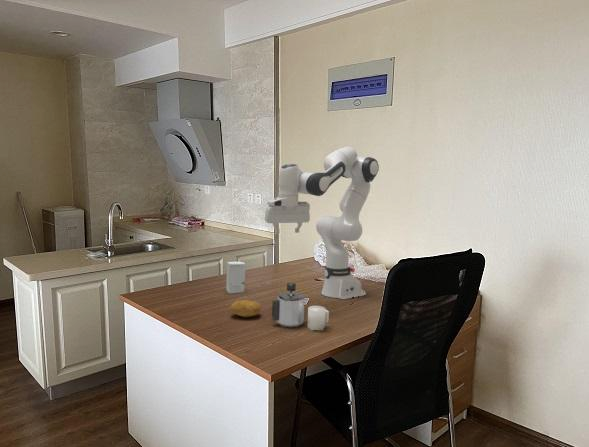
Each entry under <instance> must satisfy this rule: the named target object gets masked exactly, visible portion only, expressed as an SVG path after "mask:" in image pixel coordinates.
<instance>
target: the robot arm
mask: <svg viewBox="0 0 589 447" xmlns="http://www.w3.org/2000/svg"><path fill="white" fill-rule="evenodd" d="M323 168H324V172H307V171H306V172H305V171H304V170H302V169H301V168H300V167H299V166H298V164H296V163H295V164H294V163H290V164H284V165H282V166H280V169H279V173H278V188H279V189H278V196H277V197H274V198H270V199H269V200H267V207H266V208H265V213H264V221H265V223H267V224H272V227H273V228H274V233H275V234H280V228H278V227H277V226H278V224H292V223H296V224H297V226H296V228H295V227H294V233H300V229H301V228H302V226H303V223H309V222H310V216H311V215H310V210H311V208H310V207H311V204H310V203H309V202H307V201H299V194H303V195H312V196H316V197H322V196H323V195H324V194H325V193H326V192H328V189H329V188H330V187H331V186H332V185H333V184H334V183H335V182H336V181H338V180H339V179H341V177H343V178H345V179H351V183H350V184H349V186H348V187H347V189H346V190H345V192H344V194H343V196H342V198H341V200H340V202H339V210H340V211H341V212H342V214H341V216H332V215H325V216H320V217H319V218H318V220H317V221H316V223H315V224H316V225H315V229H316V232H317V233H318V235H319V236H320V238H321V239H322V241H323V244H324V248H325V266H324V282H323V285H322V286H323V287H322V290H321V295H322V296H325V297H328V298H334V299H341V300H347V299H352V297H354V298H357V297H358V296H359V297H363V296H364V295H365V296H366V295H367V293H366V291H365V290H364V289H362V284H361V281H360V280H359V279H357V278H356V276H354V275H352V274H351V273H355V271H356V270H355V268H353V267H349V251H348V250H347V249H348V248H346V247H345V246H344V244H343V242H342V241H344V242H354V241H355V242H356V241H358V240H359V239H360V238H361V236H362V234H363V225H362V224H361V222H360V214H361V211H362V208H363V207H364V205H365V202H366V201H367V199H368V196H369V193H370V191H371V190H370V189H371V182H372V181H374V179H375V178H376V177H377V175H378V173H379V169H380V165H379V163H378V160H377V159H376V158H373V157H370V156H367V157H364V156H358V153H357V151H356V150H355V148H353V147H352V146H344V147H341V148H338V149H336V150H334V151H332V152H331V153H329V154H328V155H326V156H325V158H324V160H323ZM359 297H358V298H359Z"/></svg>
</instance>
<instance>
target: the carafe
mask: <svg viewBox="0 0 589 447" xmlns="http://www.w3.org/2000/svg"><path fill="white" fill-rule="evenodd" d="M290 300H292V301H290ZM271 303H272V306H271V307H272V310H271V311H272V312H271V320H272V322H274V321H275V322H276V324H277V325H278V326H279V325H280V326H279V327H282V326H283V327H282V328H286V327H296V328H298V327H297V326H300V325H302V324H304V317H305V316H304V315H305V296H304V295H303V294H301V293H299V292H298V291H297V290H295V291H292V296H290V291H285V292H278V293H277V298H276V299H275V300H272V302H271ZM302 326H303V325H302ZM300 327H301V326H300Z"/></svg>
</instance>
